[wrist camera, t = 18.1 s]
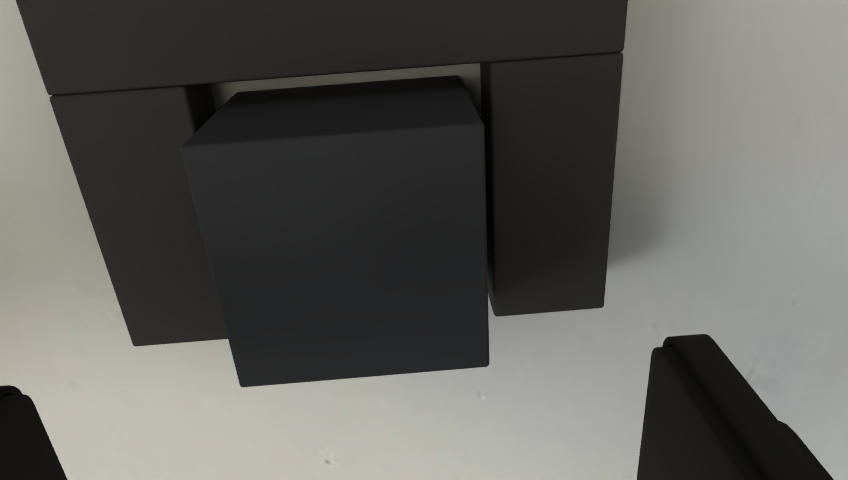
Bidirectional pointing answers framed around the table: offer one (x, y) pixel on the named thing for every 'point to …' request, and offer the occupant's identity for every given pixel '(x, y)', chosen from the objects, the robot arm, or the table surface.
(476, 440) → the table surface
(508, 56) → the base pad
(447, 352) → the black cube block
